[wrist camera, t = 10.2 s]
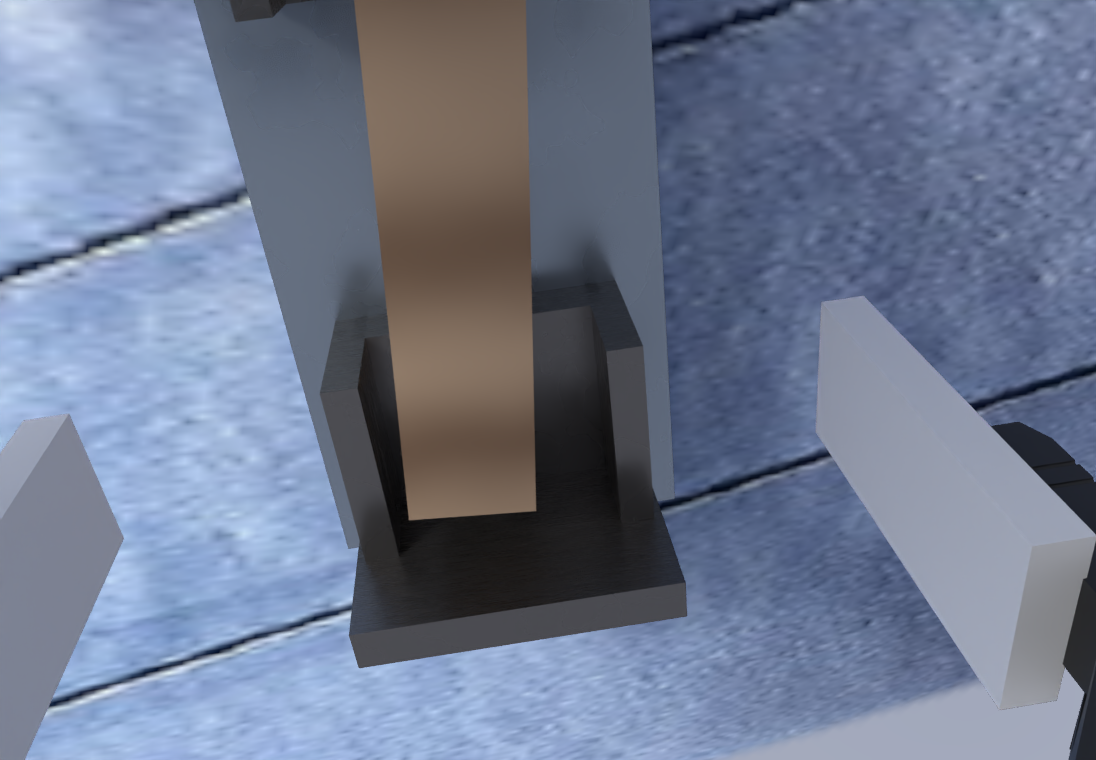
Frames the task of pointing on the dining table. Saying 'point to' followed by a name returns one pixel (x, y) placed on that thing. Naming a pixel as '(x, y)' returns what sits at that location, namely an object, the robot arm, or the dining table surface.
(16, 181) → the dining table surface
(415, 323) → the rail
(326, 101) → the block fixture
